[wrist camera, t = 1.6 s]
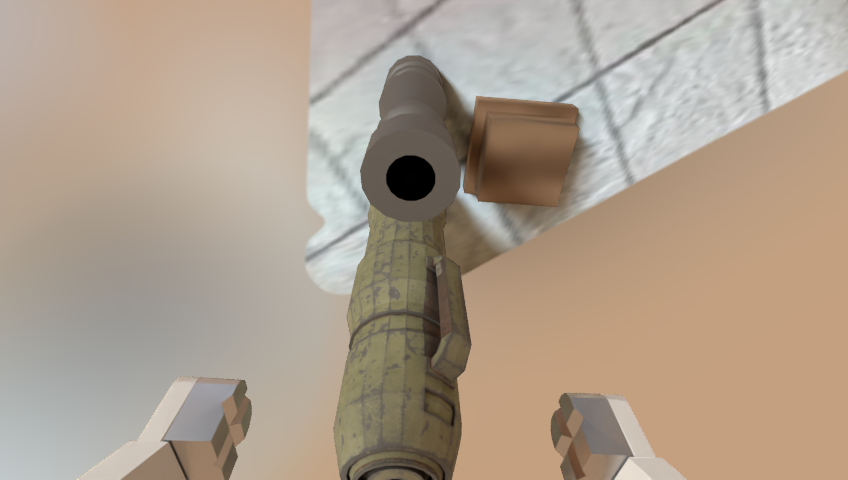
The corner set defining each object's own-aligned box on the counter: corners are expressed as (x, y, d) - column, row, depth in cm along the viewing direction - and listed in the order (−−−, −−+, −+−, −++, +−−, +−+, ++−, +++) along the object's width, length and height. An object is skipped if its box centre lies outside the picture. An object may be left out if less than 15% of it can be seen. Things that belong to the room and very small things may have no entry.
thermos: (464, 175, 49) (535, 459, 19) (412, 242, 54) (407, 544, 25) (404, 136, 46) (381, 398, 17) (355, 210, 51) (273, 509, 22)
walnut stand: (476, 96, 44) (484, 110, 39) (572, 104, 44) (592, 118, 39) (462, 186, 50) (467, 208, 45) (547, 192, 50) (562, 214, 45)
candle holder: (405, 42, 41) (391, 99, 20) (453, 77, 43) (488, 163, 22) (375, 94, 44) (336, 193, 22) (422, 125, 45) (426, 242, 24)
